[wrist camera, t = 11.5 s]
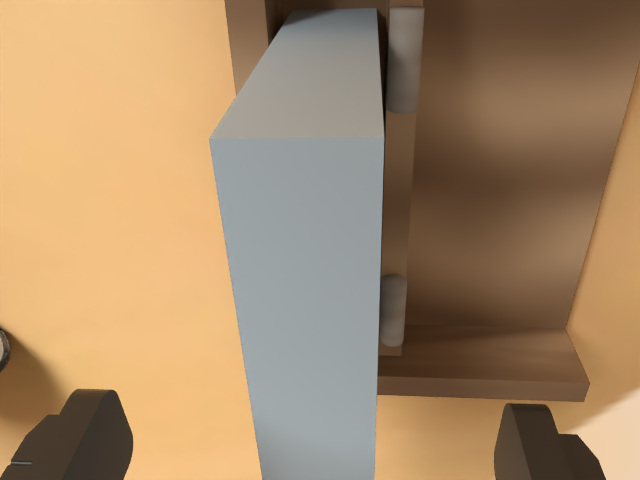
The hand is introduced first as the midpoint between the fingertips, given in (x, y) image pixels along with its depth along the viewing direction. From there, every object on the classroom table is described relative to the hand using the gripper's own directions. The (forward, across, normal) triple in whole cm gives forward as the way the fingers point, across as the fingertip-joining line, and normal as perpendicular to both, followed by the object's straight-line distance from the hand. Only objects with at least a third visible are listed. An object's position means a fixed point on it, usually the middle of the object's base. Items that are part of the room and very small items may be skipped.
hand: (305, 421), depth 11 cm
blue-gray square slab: (+13, 0, 0) cm, 13 cm away
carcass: (+14, -4, 0) cm, 15 cm away
